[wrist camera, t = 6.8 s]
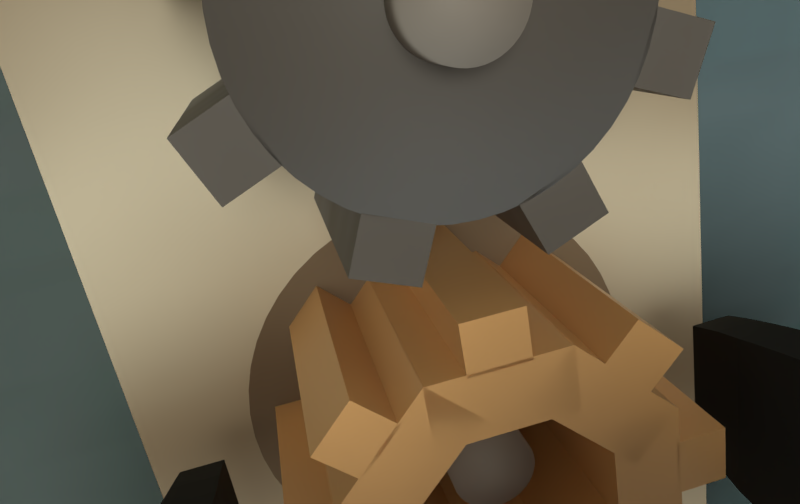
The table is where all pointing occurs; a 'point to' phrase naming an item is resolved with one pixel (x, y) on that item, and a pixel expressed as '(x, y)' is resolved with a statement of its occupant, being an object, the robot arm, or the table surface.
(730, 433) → the robot arm
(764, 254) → the table surface
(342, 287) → the gear board
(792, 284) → the table surface
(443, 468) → the orange gear
